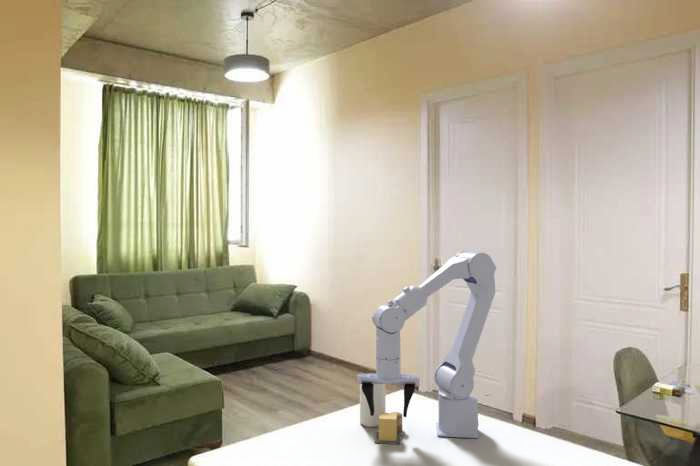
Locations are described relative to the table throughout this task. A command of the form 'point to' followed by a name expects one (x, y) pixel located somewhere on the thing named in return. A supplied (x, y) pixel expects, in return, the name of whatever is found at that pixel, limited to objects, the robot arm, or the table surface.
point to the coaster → (398, 441)
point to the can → (378, 406)
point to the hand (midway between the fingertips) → (388, 414)
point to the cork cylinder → (399, 422)
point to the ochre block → (388, 426)
